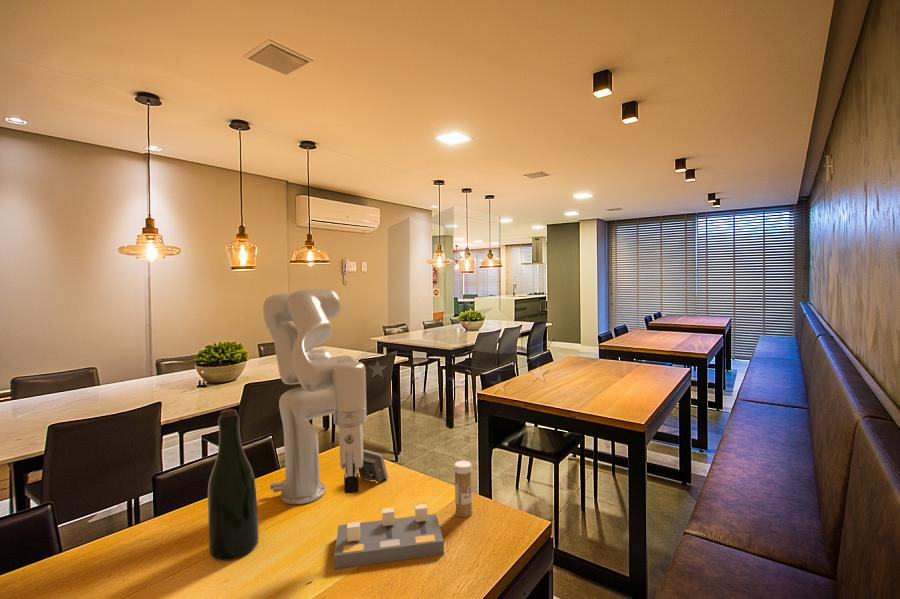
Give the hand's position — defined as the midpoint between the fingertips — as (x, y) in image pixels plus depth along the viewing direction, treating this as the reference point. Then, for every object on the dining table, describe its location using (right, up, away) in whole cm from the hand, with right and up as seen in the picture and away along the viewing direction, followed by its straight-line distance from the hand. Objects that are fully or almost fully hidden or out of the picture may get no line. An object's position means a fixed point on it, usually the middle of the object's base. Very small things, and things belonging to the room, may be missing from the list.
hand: (351, 491), depth 102 cm
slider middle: (+8, -9, +3) cm, 13 cm away
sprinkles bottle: (+27, -12, +13) cm, 32 cm away
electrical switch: (-1, -12, +34) cm, 36 cm away
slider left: (+1, -10, -3) cm, 10 cm away
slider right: (+16, -9, +4) cm, 19 cm away
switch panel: (+9, -13, 0) cm, 15 cm away
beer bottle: (-28, -14, 0) cm, 31 cm away
